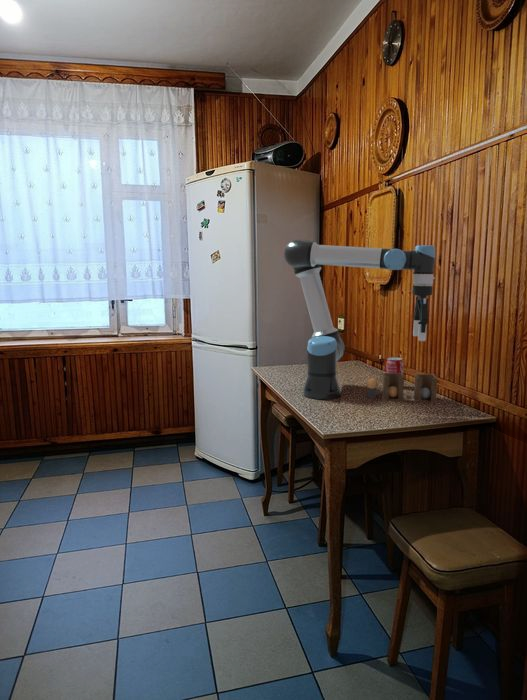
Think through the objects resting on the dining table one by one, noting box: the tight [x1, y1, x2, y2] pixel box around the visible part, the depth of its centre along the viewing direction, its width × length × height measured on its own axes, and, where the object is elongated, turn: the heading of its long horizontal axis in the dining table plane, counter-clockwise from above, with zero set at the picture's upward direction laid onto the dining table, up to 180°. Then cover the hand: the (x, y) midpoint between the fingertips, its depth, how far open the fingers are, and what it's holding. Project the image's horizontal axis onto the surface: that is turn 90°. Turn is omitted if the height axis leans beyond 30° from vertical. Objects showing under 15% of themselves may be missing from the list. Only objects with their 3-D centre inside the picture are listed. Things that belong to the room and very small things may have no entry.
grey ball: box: [421, 388, 431, 399], centre depth 180 cm, size 4×4×4 cm
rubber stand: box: [367, 387, 377, 399], centre depth 184 cm, size 3×3×4 cm
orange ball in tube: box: [389, 386, 398, 398], centre depth 183 cm, size 4×4×4 cm
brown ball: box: [365, 377, 379, 389], centre depth 184 cm, size 4×4×4 cm
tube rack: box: [381, 372, 438, 403], centre depth 181 cm, size 20×7×10 cm, turn 79°
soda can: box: [385, 356, 404, 375], centre depth 201 cm, size 7×7×13 cm
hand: (419, 338), depth 188 cm, fingers open, 13 cm apart
